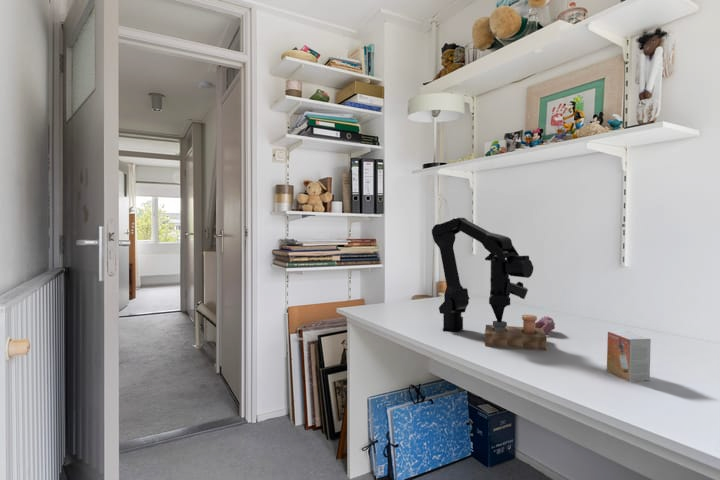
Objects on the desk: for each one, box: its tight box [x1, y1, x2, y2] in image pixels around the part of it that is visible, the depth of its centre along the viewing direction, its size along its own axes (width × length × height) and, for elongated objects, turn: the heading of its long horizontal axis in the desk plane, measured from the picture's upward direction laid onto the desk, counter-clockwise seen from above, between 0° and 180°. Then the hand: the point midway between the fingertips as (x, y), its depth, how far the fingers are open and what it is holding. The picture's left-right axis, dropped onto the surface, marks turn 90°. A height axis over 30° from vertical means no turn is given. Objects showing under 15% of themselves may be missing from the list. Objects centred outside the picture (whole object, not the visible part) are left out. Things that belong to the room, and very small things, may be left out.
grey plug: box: [492, 320, 508, 332], centre depth 135 cm, size 4×4×6 cm
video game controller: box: [535, 315, 556, 336], centre depth 146 cm, size 10×5×7 cm, turn 169°
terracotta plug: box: [521, 314, 538, 334], centre depth 132 cm, size 4×4×6 cm
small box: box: [606, 330, 652, 383], centre depth 103 cm, size 8×6×10 cm
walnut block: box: [484, 324, 548, 351], centre depth 133 cm, size 18×12×4 cm, turn 71°
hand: (499, 322), depth 135 cm, fingers closed, pressing on grey plug
